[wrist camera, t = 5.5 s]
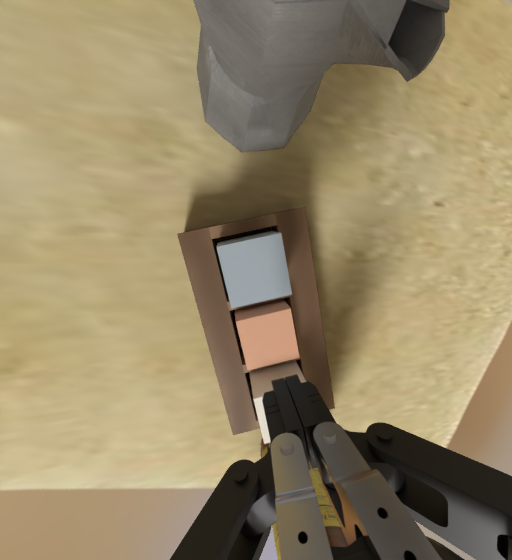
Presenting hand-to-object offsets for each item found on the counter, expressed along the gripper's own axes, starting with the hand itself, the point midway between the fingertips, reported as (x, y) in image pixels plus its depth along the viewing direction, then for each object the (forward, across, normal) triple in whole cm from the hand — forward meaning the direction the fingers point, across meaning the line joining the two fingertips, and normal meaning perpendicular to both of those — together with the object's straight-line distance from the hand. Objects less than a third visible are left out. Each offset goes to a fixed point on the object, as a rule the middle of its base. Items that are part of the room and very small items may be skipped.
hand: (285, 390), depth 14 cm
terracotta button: (+10, 0, 0) cm, 10 cm away
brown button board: (+11, 0, 0) cm, 11 cm away
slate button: (+9, 0, -6) cm, 11 cm away
